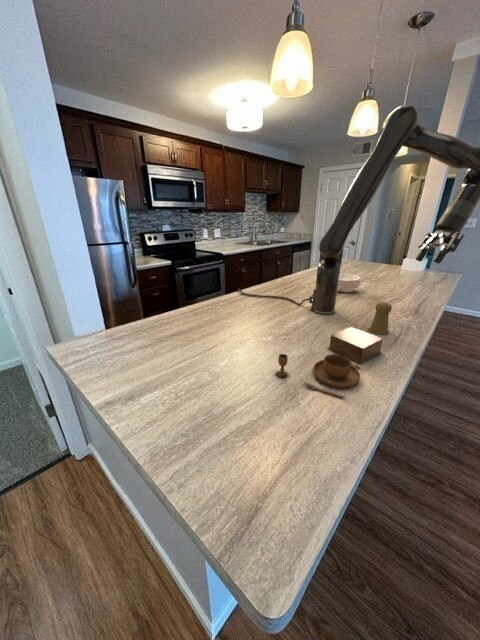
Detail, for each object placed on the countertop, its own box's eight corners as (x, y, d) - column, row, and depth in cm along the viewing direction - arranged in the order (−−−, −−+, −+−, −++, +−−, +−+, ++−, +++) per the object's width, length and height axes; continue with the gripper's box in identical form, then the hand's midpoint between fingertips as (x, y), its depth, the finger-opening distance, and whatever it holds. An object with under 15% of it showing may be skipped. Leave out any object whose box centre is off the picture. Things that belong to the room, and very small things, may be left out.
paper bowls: (355, 295, 139) (357, 281, 136) (326, 291, 146) (328, 277, 143) (360, 289, 150) (363, 275, 147) (333, 285, 158) (335, 272, 155)
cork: (387, 329, 99) (393, 301, 95) (387, 335, 94) (394, 306, 90) (369, 326, 102) (375, 299, 97) (369, 332, 97) (375, 304, 92)
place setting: (352, 402, 61) (356, 382, 59) (274, 376, 71) (275, 358, 69) (363, 367, 75) (367, 349, 73) (297, 349, 85) (298, 333, 82)
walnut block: (329, 349, 85) (330, 335, 83) (348, 340, 91) (351, 326, 89) (360, 363, 77) (363, 348, 75) (379, 352, 83) (383, 338, 81)
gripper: (430, 214, 95) (404, 255, 99) (465, 209, 81) (434, 258, 85) (446, 223, 96) (420, 264, 100) (483, 220, 83) (451, 268, 86)
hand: (426, 261), depth 93 cm, fingers open, 8 cm apart
